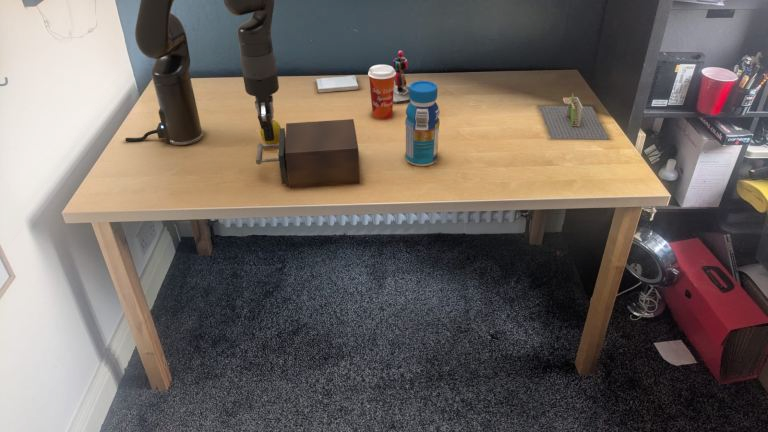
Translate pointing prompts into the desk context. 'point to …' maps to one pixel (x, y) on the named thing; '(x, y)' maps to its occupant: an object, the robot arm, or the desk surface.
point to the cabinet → (322, 153)
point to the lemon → (276, 133)
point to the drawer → (280, 154)
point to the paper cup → (382, 90)
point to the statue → (400, 80)
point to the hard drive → (337, 84)
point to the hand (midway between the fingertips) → (269, 139)
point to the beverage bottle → (422, 124)
